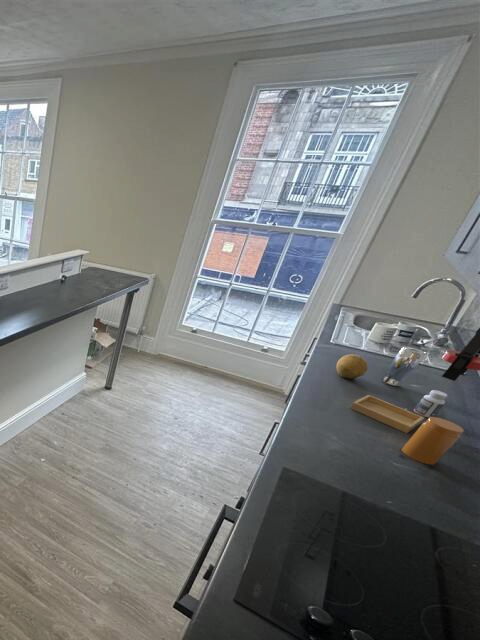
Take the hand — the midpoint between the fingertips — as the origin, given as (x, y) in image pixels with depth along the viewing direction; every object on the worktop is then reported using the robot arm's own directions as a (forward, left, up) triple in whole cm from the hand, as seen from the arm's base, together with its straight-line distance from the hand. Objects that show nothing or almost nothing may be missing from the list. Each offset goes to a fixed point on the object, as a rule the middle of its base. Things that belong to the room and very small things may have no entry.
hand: (452, 375), depth 116 cm
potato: (+28, -35, -23) cm, 50 cm away
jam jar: (-6, +9, -23) cm, 25 cm away
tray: (+8, -11, -23) cm, 26 cm away
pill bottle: (+2, -28, -23) cm, 36 cm away
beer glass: (+17, -48, -23) cm, 56 cm away
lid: (0, 0, +6) cm, 6 cm away
